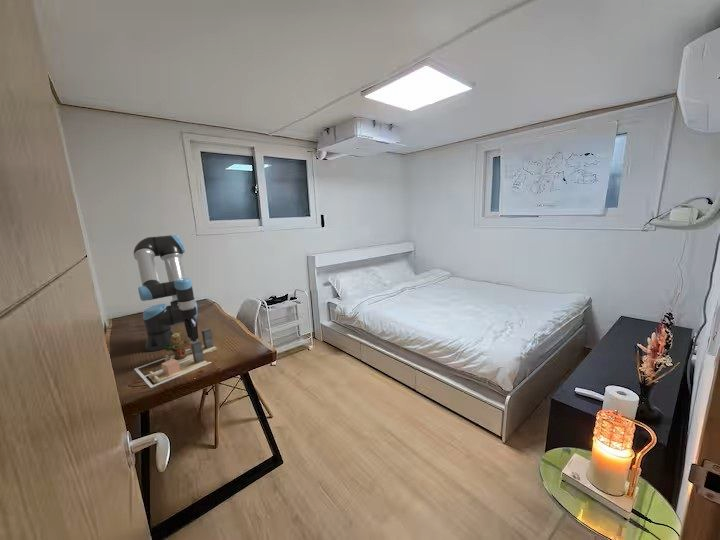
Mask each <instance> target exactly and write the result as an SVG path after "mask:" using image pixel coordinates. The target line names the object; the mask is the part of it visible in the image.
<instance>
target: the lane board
mask: <svg viewBox="0 0 720 540" xmlns="http://www.w3.org/2000/svg"><path fill="white" fill-rule="evenodd" d="M191 349H192V348H188V349H185V351H188V350H191ZM168 356H169V357H172V356H175V353H173V354H171V355H168ZM164 359H166V357H163V358H160V359H158V360H154V361H153V362H149V363H146V364H144V365H141V366H138V367H135V368H134V369H133V370H134V371H135V373H136V374H137V375H139V377H140V378H141V379H142V380H143V381H144V383H146V385H148V387H149V388H150V389H152V388H154V387H157V386H159V385H161V384H164V383H166V382H169V381H171V380H174V379H176V378H178V377H181V376H182V375H185V374H188V373H191V372H193V371H195V370H197V369H201V368H202V367H204V366H207V365H210V364H211V363H212V361H207V362H208V363H206V364H203V365H201V366H199V367H196V368H194V369H191V370H189V371H187V372H184V373H182V374H179V375H177V376H174V377H172V378H170V379H167V380H165V381H162V382H160V383H158V384H155V383H154V384H152V382H151V381H150V380H149V378H147V377H148V376H150V373H149V374H146V375H144V374H143V373H142V372H141V370H139V369H141V368H144V367H147V366H149V365H152V364H154V363H158V362H160V361H163V360H164ZM191 359H194V358H190V359H187V360H185V361H182V362H180V363H179V364H181V363H184V362H186V361H189V360H191ZM161 371H163V369H162V368H161V369H159V370H156V371H154V372H153V373H154V374H155V373H158V372H161Z"/></svg>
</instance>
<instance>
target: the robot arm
mask: <svg viewBox="0 0 720 540" xmlns="http://www.w3.org/2000/svg"><path fill="white" fill-rule="evenodd" d="M183 254H185V247H184V243H183V242H182V239H181V237H180V236H179V235H178V234H177V235H176V234H175V235H172V234H169V235H160V236H159V235H158V236H147V237H145V238H143V239H141V240H140V241H139V242H138V243H137V244H136V245H135V247H134V249H133V258H134V259H135V261H137V265H138V271H139V276H140V280H141V286H138V288H137V289H138V294H139V298H140V300H141V301H142V302H145V301H152V300H158V299H163V298H166V297H172V299H171V301H170V305H167V304H166V303H159V304H156V305H153V306H150V307H147V308H145V309H144V310H143V312H142V319H143V321H144V326H145V332H146V341H145V349H146V351H148V352H157V351H161V350H166V348H167V347H165V346H164V344H168V345H169V344H171V343H172V342H171V336H172V335H173V334H174V333H175V332H173V329H172V326H175V325H179V324H182V323H184V327H185V333H186V335H187V338H188V339H189V342H190V344H191V343H192V342H195V341H197V340H199V330H198V322H197V321H196V319H197V318H198V303H197V300H196V299H195V296H194V289H193V283H192V280H191V278H189V277H186V276H185V272H184V267H183V264H182V263H183V262H182V258H183V256H184V255H183ZM155 257H160V259H161V260H162V261H163V262H164V266H165V270H166V275H167V279H168V281H166V282H161V283H160V278H159V274H158V270H157V266H156V263H155V262H156V261H155Z"/></svg>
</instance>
